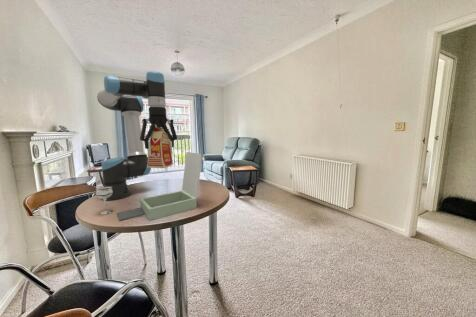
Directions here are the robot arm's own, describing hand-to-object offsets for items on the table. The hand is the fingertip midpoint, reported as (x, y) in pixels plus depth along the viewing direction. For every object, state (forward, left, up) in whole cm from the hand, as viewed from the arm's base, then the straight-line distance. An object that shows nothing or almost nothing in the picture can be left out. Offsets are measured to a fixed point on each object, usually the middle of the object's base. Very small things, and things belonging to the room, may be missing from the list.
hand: (160, 154), depth 95 cm
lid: (+1, +15, -11) cm, 19 cm away
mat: (-3, -15, -27) cm, 31 cm away
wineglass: (-14, -23, -27) cm, 39 cm away
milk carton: (0, 0, -6) cm, 6 cm away
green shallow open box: (+1, +2, -27) cm, 27 cm away
